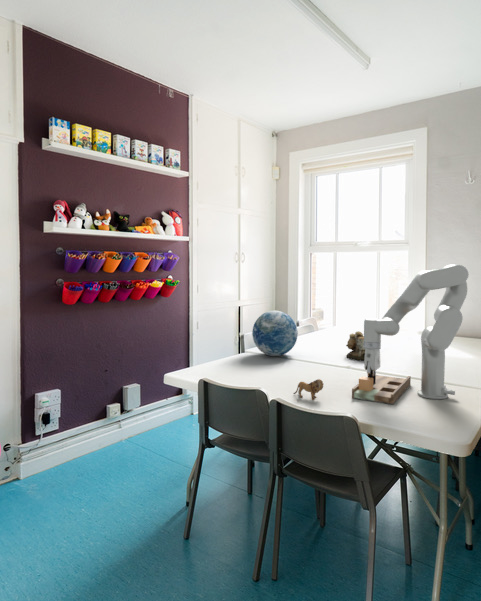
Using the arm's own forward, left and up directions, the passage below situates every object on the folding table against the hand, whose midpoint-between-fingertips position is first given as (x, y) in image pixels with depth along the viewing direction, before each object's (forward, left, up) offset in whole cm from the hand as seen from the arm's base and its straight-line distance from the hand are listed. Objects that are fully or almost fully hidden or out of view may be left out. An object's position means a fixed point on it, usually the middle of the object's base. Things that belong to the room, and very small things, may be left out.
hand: (371, 383), depth 203 cm
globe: (+78, -51, -5) cm, 93 cm away
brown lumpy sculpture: (+29, -70, -5) cm, 76 cm away
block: (+1, +5, -1) cm, 5 cm away
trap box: (-4, -5, -4) cm, 7 cm away
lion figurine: (+23, +20, -5) cm, 30 cm away
